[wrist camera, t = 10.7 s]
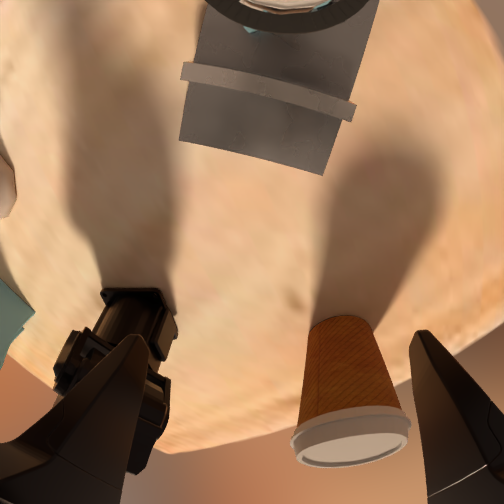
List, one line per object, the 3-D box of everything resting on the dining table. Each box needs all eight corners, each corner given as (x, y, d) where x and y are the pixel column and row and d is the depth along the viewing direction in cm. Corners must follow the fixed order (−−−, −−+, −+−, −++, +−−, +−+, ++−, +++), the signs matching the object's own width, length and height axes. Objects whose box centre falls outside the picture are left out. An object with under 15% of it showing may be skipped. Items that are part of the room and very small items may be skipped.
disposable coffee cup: (389, 352, 30) (410, 454, 20) (304, 371, 32) (305, 473, 22) (382, 290, 25) (418, 417, 15) (277, 316, 27) (272, 444, 18)
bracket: (320, 169, 19) (326, 188, 17) (184, 135, 19) (168, 149, 16) (386, -46, 10) (404, -60, 8) (241, -84, 10) (235, -105, 7)
